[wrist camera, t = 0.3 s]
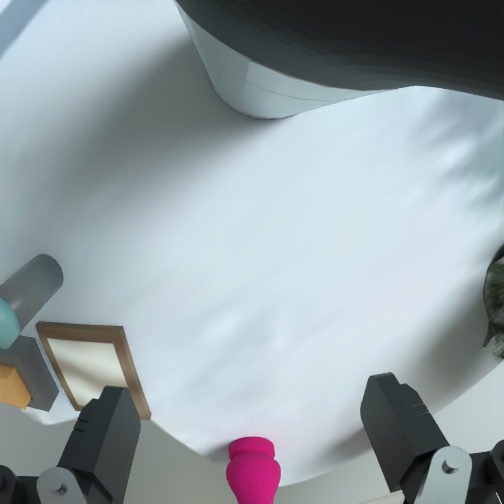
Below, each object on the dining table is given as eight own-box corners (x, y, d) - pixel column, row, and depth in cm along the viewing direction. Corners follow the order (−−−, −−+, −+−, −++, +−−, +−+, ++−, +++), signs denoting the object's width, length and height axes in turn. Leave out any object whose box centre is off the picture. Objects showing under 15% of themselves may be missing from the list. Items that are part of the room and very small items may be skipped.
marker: (27, 253, 25) (-32, 301, 16) (58, 252, 25) (-1, 304, 16) (37, 291, 27) (-13, 345, 17) (68, 291, 27) (19, 351, 18)
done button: (-4, 353, 27) (-19, 372, 24) (21, 358, 28) (7, 379, 24) (11, 382, 29) (-1, 401, 26) (36, 388, 30) (25, 409, 26)
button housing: (-11, 331, 29) (-26, 348, 25) (34, 337, 29) (19, 357, 25) (14, 381, 32) (2, 399, 28) (59, 391, 32) (48, 411, 29)
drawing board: (39, 321, 28) (34, 326, 27) (122, 326, 29) (119, 332, 28) (77, 405, 33) (75, 411, 32) (151, 414, 34) (149, 420, 33)
